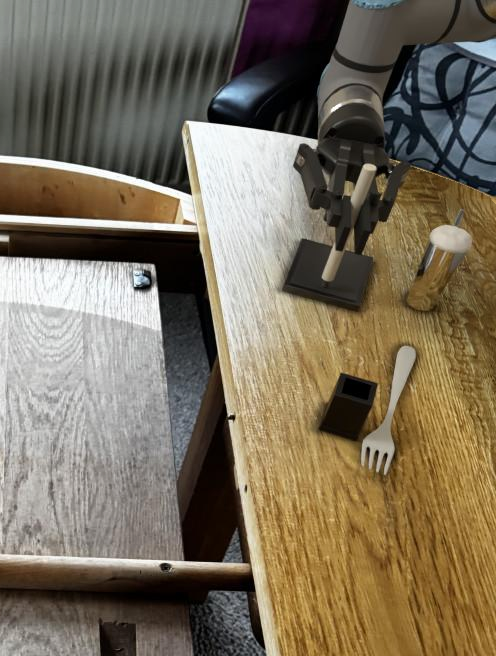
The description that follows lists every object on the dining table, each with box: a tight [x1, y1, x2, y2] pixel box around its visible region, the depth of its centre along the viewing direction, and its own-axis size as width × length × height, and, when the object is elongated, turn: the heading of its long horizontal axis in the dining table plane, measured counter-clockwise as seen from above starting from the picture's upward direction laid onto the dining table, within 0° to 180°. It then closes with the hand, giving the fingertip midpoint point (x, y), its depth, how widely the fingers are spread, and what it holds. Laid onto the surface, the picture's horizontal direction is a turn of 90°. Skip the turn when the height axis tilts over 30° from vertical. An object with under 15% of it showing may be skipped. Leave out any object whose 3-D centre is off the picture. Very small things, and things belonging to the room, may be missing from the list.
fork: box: [360, 345, 417, 476], centre depth 97 cm, size 3×24×2 cm, turn 156°
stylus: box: [322, 164, 377, 288], centre depth 103 cm, size 1×1×14 cm
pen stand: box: [318, 372, 379, 442], centre depth 94 cm, size 4×4×4 cm
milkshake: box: [406, 208, 473, 312], centre depth 106 cm, size 5×5×10 cm
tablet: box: [281, 237, 375, 312], centre depth 111 cm, size 9×11×1 cm
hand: (353, 240), depth 98 cm, fingers closed on stylus
